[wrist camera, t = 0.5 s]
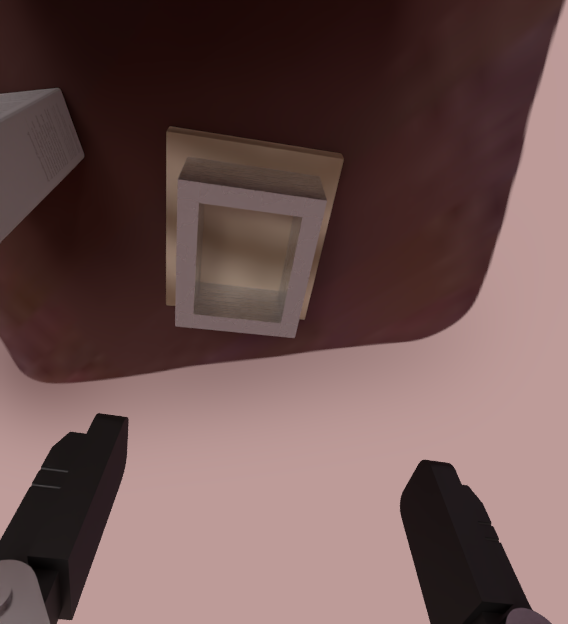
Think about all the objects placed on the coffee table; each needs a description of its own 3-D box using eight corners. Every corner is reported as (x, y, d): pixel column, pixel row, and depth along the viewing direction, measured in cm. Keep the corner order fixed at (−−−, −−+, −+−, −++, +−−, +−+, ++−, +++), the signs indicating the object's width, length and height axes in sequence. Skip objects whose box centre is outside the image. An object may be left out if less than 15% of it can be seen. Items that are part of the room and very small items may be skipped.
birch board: (169, 126, 27) (166, 131, 26) (341, 153, 28) (344, 159, 27) (168, 296, 34) (166, 305, 33) (303, 310, 36) (304, 319, 35)
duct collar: (187, 156, 27) (177, 179, 24) (319, 176, 28) (326, 200, 25) (183, 293, 33) (175, 326, 30) (291, 305, 34) (294, 338, 31)
